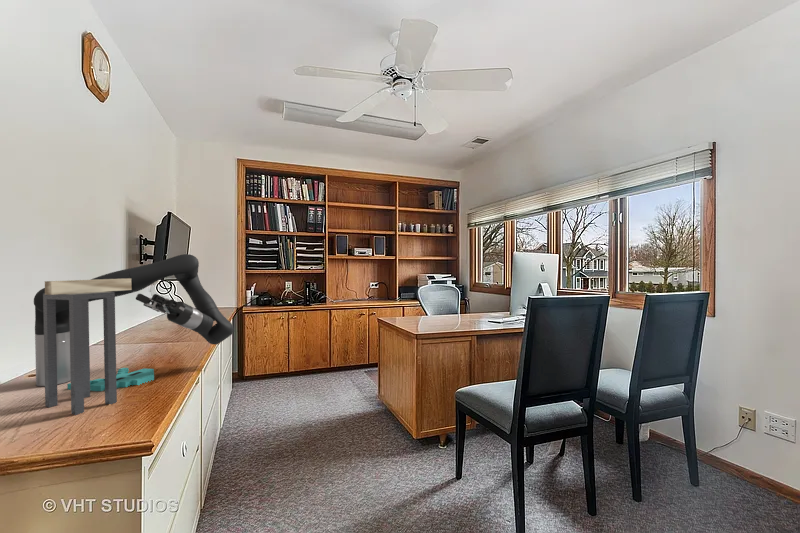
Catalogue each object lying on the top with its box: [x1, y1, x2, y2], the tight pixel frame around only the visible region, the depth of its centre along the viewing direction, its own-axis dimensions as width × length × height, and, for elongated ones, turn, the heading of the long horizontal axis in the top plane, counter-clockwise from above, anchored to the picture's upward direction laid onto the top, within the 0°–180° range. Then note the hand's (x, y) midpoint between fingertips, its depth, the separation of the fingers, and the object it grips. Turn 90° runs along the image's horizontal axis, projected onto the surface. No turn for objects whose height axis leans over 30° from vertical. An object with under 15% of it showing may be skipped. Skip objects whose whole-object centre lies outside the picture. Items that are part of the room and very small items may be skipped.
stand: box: [43, 292, 118, 416], centre depth 109 cm, size 16×10×32 cm, turn 64°
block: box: [44, 279, 132, 295], centre depth 112 cm, size 4×20×4 cm, turn 154°
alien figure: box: [67, 367, 155, 392], centre depth 131 cm, size 20×2×20 cm
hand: (145, 296), depth 125 cm, fingers open, 8 cm apart
